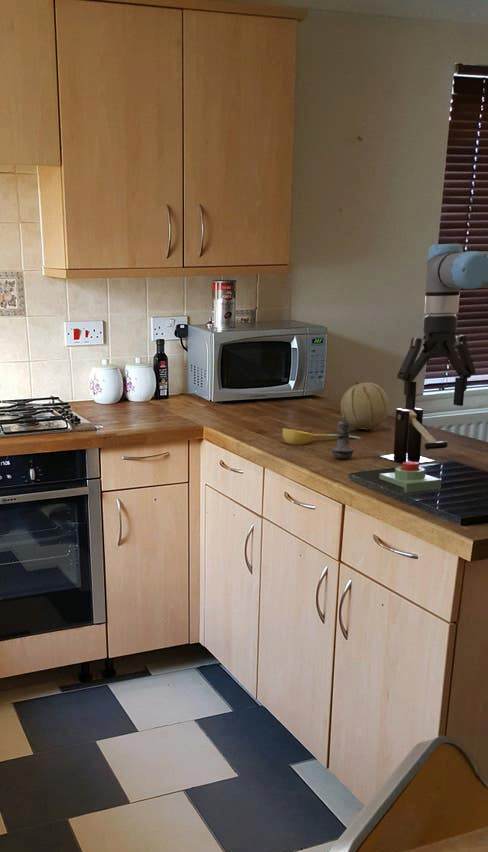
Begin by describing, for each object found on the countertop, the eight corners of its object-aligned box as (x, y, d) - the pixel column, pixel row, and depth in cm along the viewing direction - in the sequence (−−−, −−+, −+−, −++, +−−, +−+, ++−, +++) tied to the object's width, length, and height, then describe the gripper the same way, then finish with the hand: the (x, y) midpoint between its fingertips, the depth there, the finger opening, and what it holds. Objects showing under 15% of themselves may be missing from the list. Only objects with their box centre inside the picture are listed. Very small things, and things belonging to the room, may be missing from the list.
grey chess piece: (330, 465, 225) (332, 418, 221) (330, 460, 230) (332, 414, 226) (354, 465, 224) (356, 418, 220) (353, 460, 229) (355, 414, 225)
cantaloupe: (389, 433, 266) (391, 383, 261) (340, 433, 269) (341, 384, 264) (386, 425, 280) (388, 378, 275) (339, 425, 283) (341, 378, 278)
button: (421, 471, 198) (422, 463, 197) (408, 472, 197) (408, 465, 196) (412, 468, 201) (412, 460, 200) (398, 469, 200) (399, 462, 199)
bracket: (435, 466, 220) (439, 410, 216) (404, 469, 217) (408, 413, 213) (407, 457, 231) (411, 405, 226) (378, 460, 228) (381, 407, 224)
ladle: (274, 442, 252) (278, 422, 251) (354, 455, 261) (359, 436, 259) (287, 446, 244) (291, 425, 243) (369, 460, 252) (374, 440, 251)
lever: (445, 450, 212) (449, 442, 211) (426, 452, 211) (429, 444, 209) (414, 416, 223) (417, 408, 221) (395, 418, 221) (398, 410, 219)
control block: (440, 489, 196) (441, 471, 195) (406, 493, 194) (407, 475, 192) (412, 479, 206) (413, 462, 205) (378, 483, 204) (379, 466, 202)
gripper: (475, 312, 210) (467, 401, 217) (385, 316, 202) (380, 409, 209) (496, 313, 203) (487, 405, 210) (404, 317, 196) (398, 413, 202)
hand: (434, 407), depth 210 cm, fingers open, 13 cm apart
